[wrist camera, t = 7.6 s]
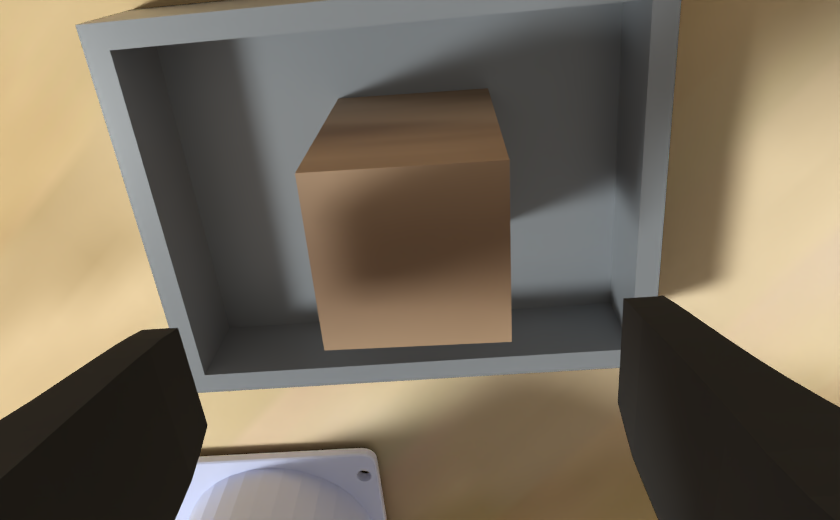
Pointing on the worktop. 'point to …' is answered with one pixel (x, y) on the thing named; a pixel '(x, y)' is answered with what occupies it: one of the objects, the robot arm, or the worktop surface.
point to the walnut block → (409, 221)
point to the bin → (376, 76)
